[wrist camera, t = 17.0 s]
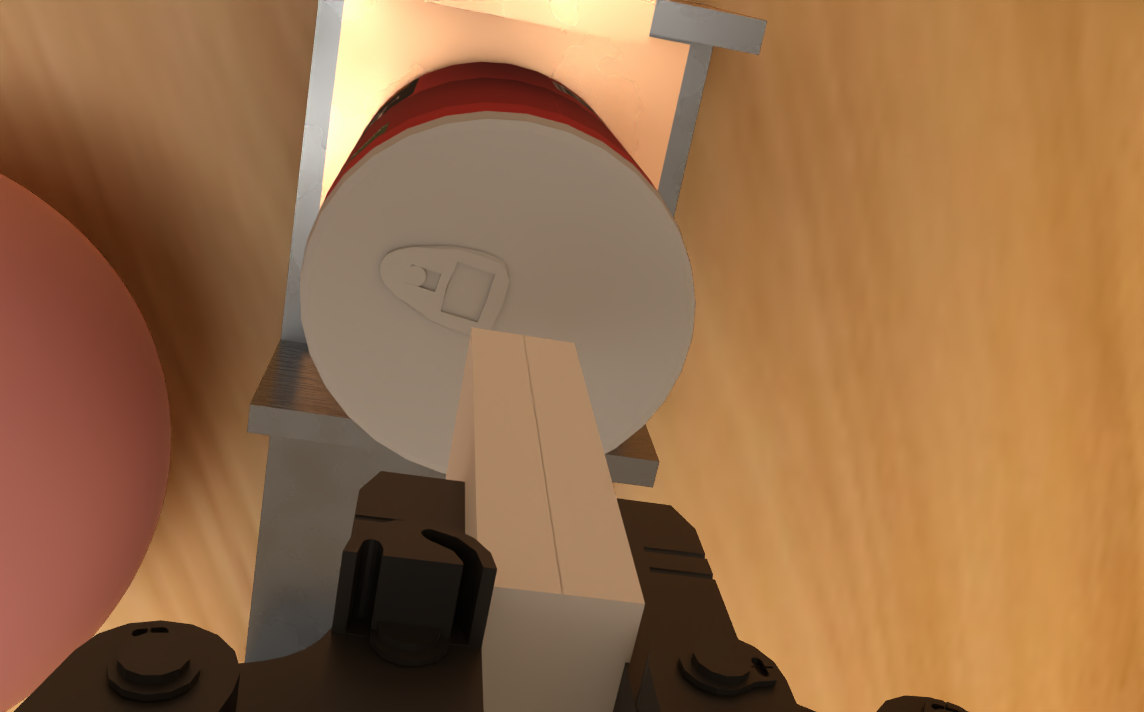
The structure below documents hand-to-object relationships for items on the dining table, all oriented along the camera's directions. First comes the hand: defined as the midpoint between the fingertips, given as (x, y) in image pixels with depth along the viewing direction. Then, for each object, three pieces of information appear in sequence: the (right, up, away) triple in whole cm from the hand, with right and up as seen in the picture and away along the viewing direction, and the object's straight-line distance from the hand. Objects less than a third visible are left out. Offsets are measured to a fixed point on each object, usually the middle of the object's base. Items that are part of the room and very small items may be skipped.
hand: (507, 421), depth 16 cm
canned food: (-1, +6, +16) cm, 17 cm away
